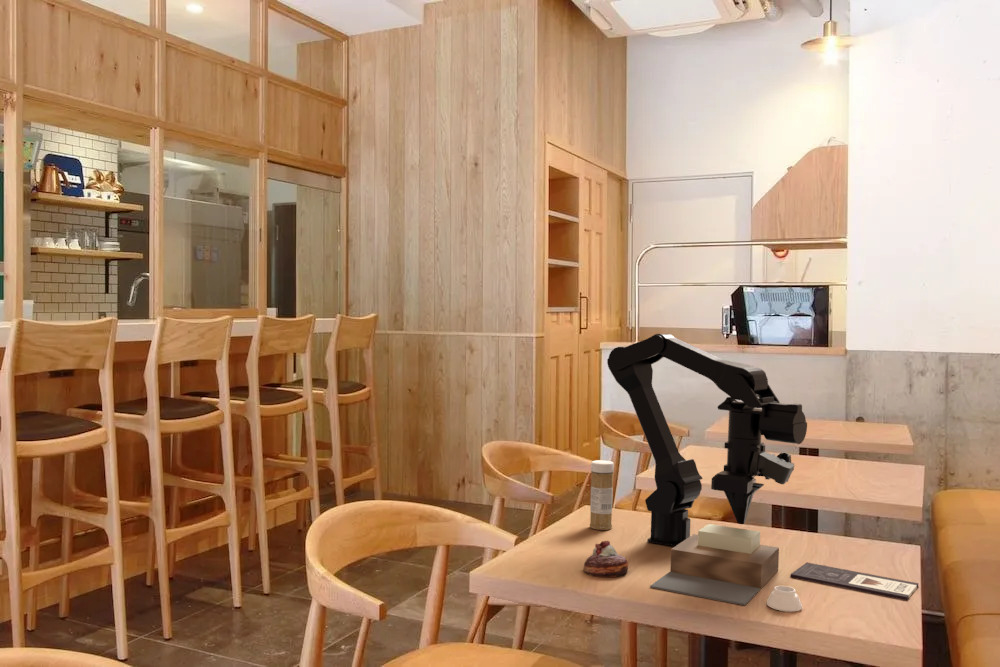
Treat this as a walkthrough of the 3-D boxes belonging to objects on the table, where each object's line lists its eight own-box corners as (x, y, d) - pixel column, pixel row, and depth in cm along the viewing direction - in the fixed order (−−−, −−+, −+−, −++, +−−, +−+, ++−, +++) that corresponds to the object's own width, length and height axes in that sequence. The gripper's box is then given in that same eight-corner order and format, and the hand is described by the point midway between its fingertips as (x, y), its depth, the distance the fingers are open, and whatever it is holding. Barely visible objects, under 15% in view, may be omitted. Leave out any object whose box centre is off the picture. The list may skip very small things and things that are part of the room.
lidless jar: (767, 611, 130) (802, 615, 129) (767, 591, 130) (803, 595, 129) (766, 601, 135) (800, 604, 134) (767, 582, 135) (801, 585, 134)
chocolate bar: (806, 562, 155) (918, 583, 144) (806, 567, 155) (918, 589, 144) (790, 574, 147) (906, 597, 137) (790, 579, 147) (906, 603, 137)
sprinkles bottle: (608, 525, 180) (610, 459, 179) (614, 530, 175) (616, 463, 175) (586, 525, 179) (588, 459, 179) (591, 530, 175) (593, 463, 174)
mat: (650, 587, 140) (650, 585, 140) (669, 573, 148) (669, 571, 148) (745, 605, 132) (745, 603, 132) (760, 589, 140) (760, 588, 140)
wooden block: (670, 572, 148) (671, 549, 148) (692, 556, 158) (693, 534, 158) (760, 589, 140) (761, 564, 140) (778, 570, 151) (779, 547, 151)
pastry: (598, 562, 154) (599, 534, 153) (637, 571, 149) (638, 541, 149) (574, 573, 147) (575, 543, 147) (614, 582, 143) (615, 551, 142)
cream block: (697, 545, 151) (698, 530, 151) (708, 537, 156) (708, 523, 156) (750, 553, 146) (751, 539, 146) (759, 545, 151) (760, 531, 151)
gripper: (778, 448, 145) (774, 542, 146) (802, 435, 161) (798, 520, 162) (712, 441, 151) (708, 531, 151) (741, 429, 167) (738, 511, 167)
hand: (741, 523), depth 158 cm, fingers closed
